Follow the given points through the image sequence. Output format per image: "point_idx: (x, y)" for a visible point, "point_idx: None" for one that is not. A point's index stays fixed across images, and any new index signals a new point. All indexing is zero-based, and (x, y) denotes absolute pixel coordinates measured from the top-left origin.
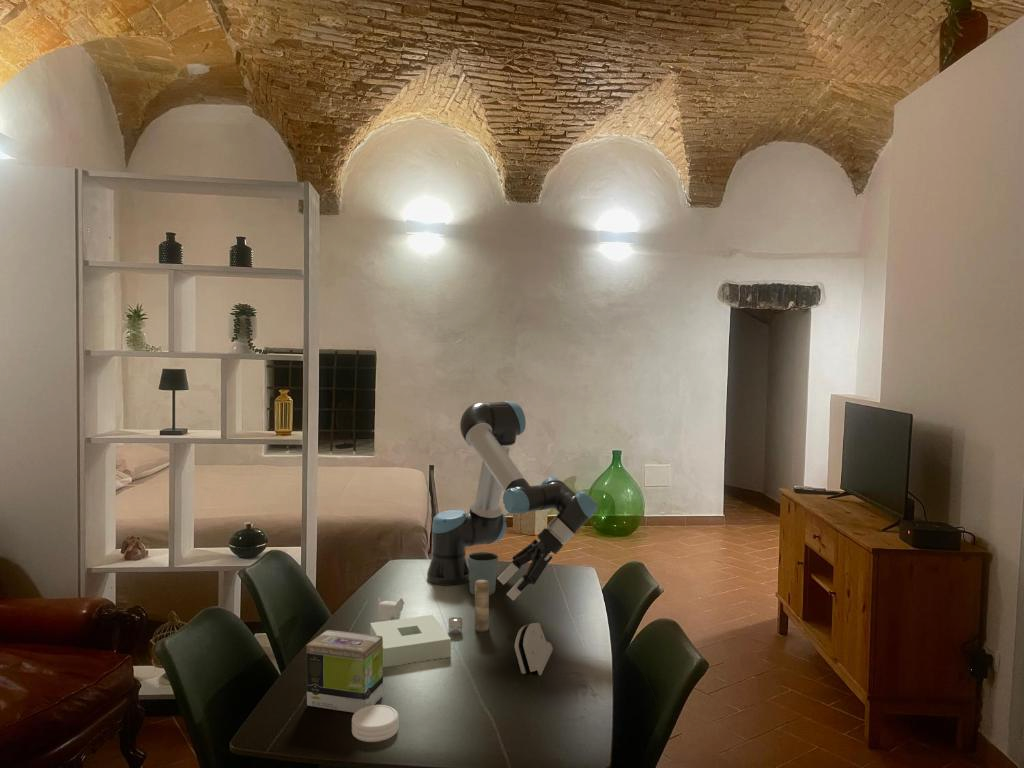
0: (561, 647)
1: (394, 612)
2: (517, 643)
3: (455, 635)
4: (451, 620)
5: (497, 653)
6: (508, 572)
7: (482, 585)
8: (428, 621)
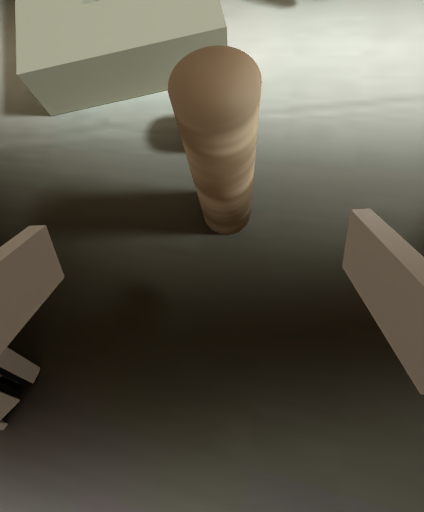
0: (10, 471)
1: None
2: None
3: None
4: None
5: None
6: (384, 282)
7: (169, 87)
8: (169, 17)
